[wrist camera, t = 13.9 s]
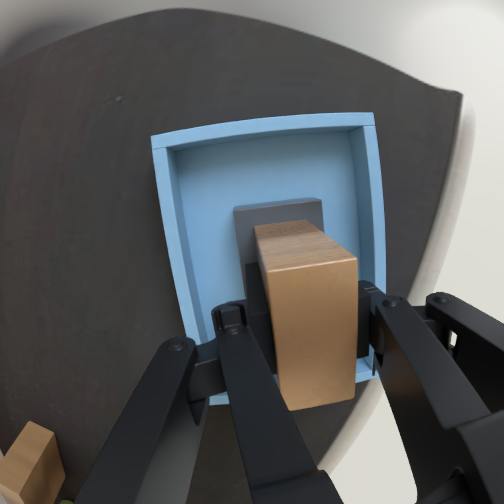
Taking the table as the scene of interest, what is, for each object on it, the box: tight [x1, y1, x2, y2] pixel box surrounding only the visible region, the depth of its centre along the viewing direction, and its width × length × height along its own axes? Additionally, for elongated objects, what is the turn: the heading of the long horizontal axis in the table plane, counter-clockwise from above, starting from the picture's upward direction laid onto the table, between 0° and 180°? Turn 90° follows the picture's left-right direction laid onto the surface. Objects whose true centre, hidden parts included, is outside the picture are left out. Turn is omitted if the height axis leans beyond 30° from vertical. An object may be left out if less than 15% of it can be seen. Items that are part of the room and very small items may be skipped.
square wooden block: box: [0, 421, 66, 504], centre depth 20 cm, size 10×4×10 cm, turn 165°
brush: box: [233, 197, 358, 411], centre depth 15 cm, size 8×5×10 cm, turn 7°
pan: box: [151, 113, 386, 405], centre depth 19 cm, size 18×13×3 cm
